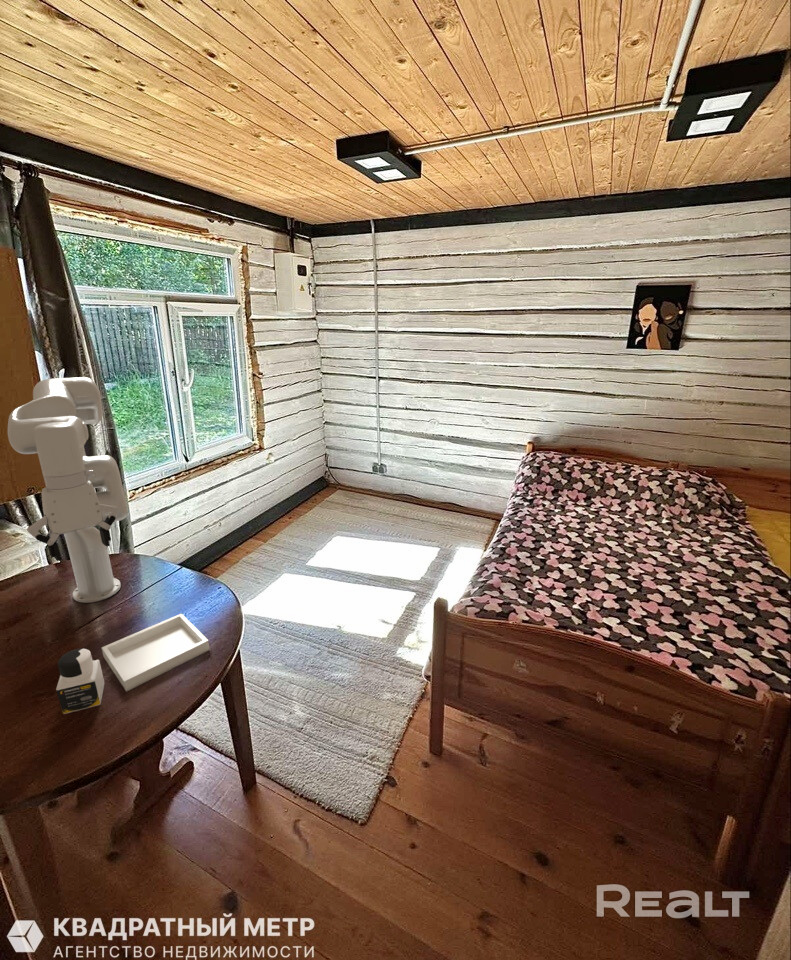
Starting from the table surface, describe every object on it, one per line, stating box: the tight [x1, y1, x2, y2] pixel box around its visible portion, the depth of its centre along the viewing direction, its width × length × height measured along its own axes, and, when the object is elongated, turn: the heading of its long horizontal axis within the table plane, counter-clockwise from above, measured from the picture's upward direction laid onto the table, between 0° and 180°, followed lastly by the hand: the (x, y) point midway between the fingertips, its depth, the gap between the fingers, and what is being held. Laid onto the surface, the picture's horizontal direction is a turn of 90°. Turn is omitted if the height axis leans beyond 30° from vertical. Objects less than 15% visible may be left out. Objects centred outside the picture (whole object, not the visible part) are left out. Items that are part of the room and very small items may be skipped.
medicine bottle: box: [55, 648, 105, 715], centre depth 104 cm, size 7×7×12 cm
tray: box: [101, 613, 210, 692], centre depth 119 cm, size 16×20×3 cm
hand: (82, 551), depth 107 cm, fingers open, 9 cm apart
